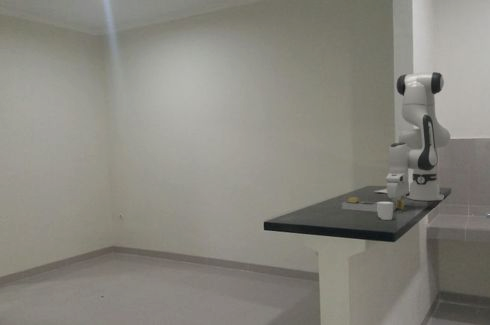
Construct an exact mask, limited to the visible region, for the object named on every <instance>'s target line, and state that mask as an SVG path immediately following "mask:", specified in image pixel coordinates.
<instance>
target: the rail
mask: <svg viewBox="0 0 490 325" xmlns="http://www.w3.org/2000/svg"><path fill="white" fill-rule="evenodd" d="M341 210H349V211H350V210H351V211H352V210H354V211H363V212H374V213H376V212H377V213H378V211H377V202H374V201H373V202H372V201H360V200H359V203H358V204H354V203H348V200H347V201H344V202H341ZM396 210H397V208H396V204H393V213H395V212H396Z"/></svg>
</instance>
